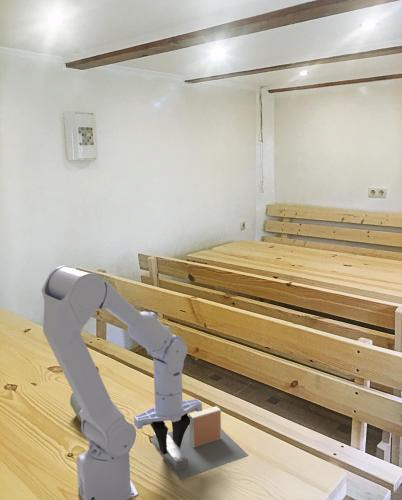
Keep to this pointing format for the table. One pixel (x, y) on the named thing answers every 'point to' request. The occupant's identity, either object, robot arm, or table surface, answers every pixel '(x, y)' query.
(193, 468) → the mat
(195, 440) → the tile
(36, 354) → the table surface
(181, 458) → the bar
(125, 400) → the table surface
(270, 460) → the table surface
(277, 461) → the table surface
